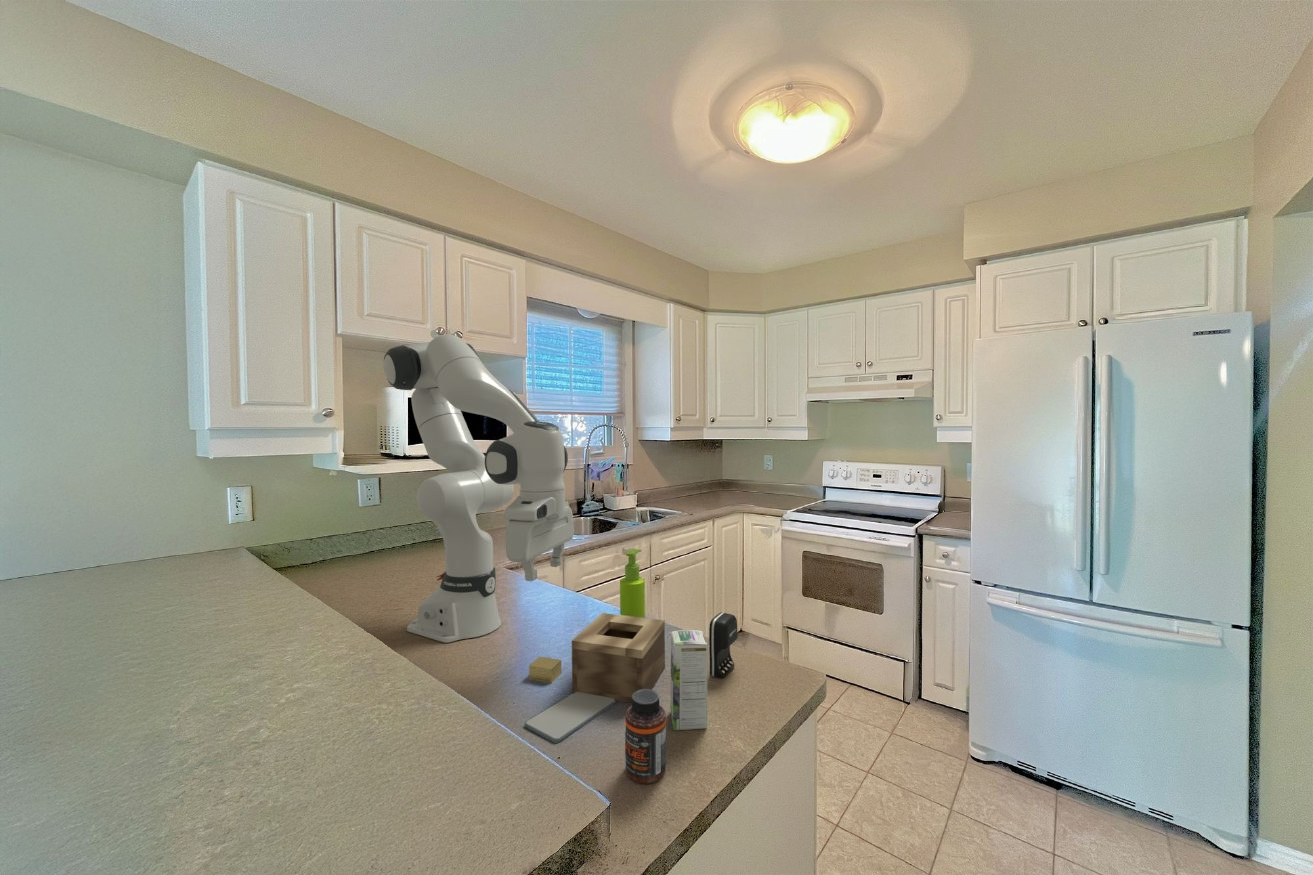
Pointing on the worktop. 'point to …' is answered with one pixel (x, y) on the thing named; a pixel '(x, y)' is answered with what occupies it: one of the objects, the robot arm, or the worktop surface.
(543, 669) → the pale yellow block
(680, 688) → the syrup box
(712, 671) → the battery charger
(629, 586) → the soap dispenser
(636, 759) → the supplement bottle
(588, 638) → the box
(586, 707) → the smartphone
